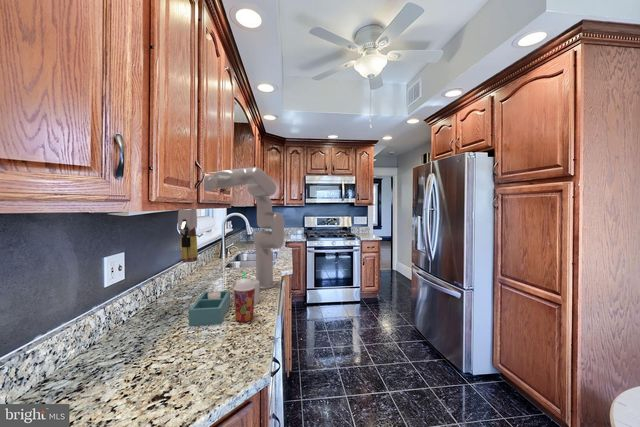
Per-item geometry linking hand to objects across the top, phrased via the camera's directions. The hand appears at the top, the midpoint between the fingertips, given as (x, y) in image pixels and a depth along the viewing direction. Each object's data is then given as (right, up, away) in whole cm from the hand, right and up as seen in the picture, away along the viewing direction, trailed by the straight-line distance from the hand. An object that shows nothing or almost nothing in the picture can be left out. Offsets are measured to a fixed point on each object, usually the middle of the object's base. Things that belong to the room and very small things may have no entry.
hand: (189, 245), depth 114 cm
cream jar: (+9, -28, +5) cm, 30 cm away
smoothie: (+25, -30, -5) cm, 39 cm away
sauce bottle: (0, -7, 0) cm, 7 cm away
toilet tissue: (+20, -29, +14) cm, 38 cm away
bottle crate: (+10, -29, 0) cm, 31 cm away
